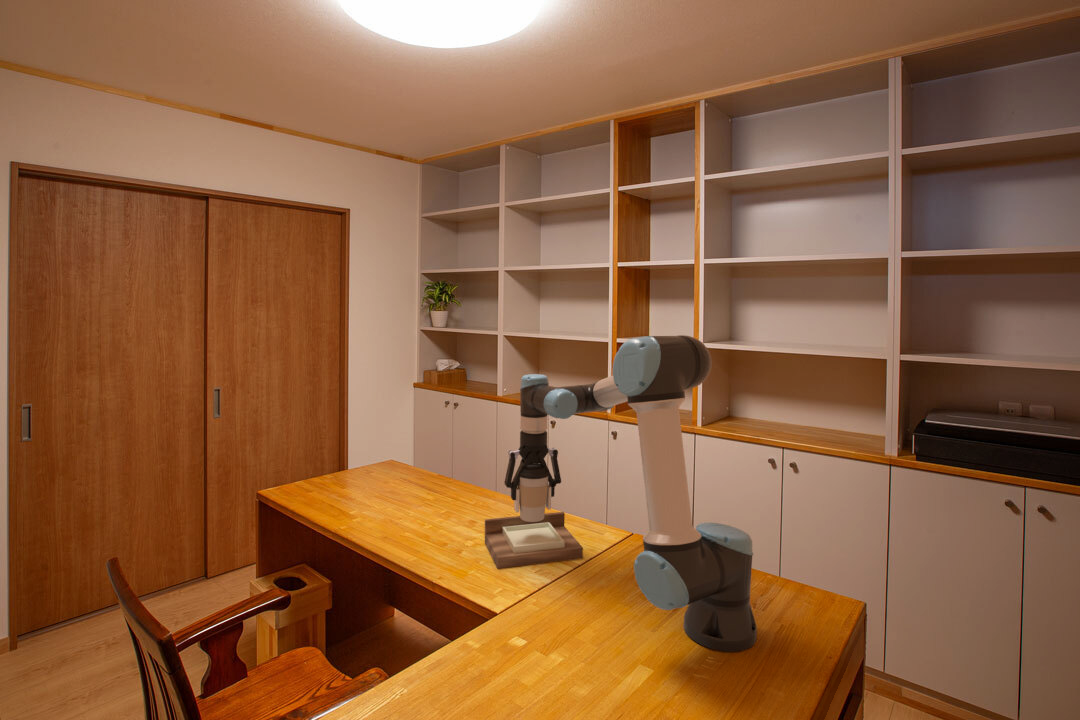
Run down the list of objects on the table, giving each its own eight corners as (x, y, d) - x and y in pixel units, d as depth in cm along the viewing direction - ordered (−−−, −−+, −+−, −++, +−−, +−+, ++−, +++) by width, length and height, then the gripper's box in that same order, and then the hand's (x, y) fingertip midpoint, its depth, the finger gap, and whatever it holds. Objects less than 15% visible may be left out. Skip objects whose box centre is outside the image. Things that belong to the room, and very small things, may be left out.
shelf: (582, 558, 164) (583, 533, 164) (497, 568, 158) (497, 543, 157) (562, 534, 181) (563, 511, 180) (484, 542, 174) (484, 519, 173)
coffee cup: (550, 512, 172) (552, 462, 170) (544, 524, 163) (546, 471, 161) (520, 510, 173) (521, 459, 172) (512, 521, 165) (513, 468, 163)
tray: (564, 547, 164) (564, 541, 164) (514, 553, 160) (514, 546, 160) (548, 528, 178) (549, 522, 177) (502, 532, 174) (502, 526, 173)
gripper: (565, 425, 172) (564, 501, 174) (493, 429, 166) (492, 507, 168) (574, 431, 165) (572, 510, 167) (498, 435, 159) (498, 517, 161)
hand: (532, 509), depth 168 cm, fingers closed on coffee cup, 8 cm apart
